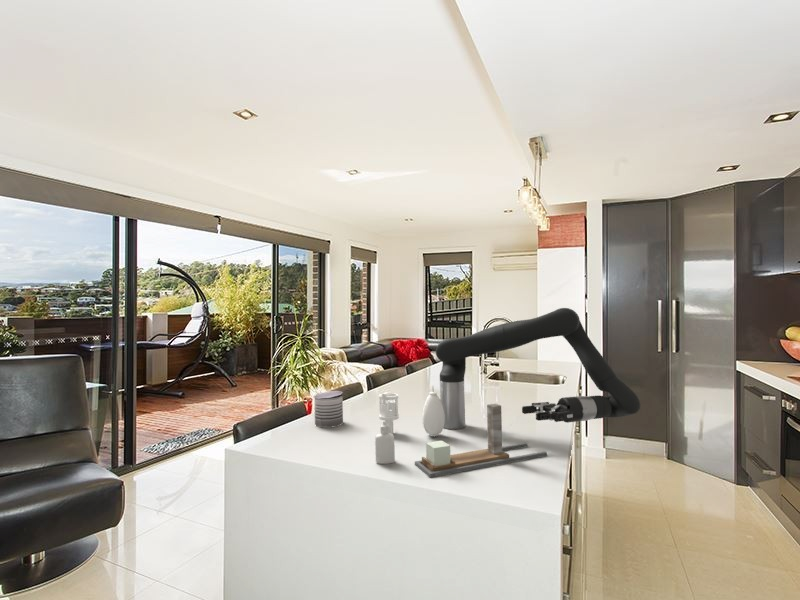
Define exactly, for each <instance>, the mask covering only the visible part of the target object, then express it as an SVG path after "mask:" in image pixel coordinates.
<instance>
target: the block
mask: <svg viewBox="0 0 800 600" xmlns="http://www.w3.org/2000/svg"><path fill="white" fill-rule="evenodd" d="M425 448H426V449H425V453H426V457H425V458H426V459H427V460H429V461H430V462H431V463H433V464H434V465H435V466H440V465H446V464H450V455H451V445H450V444H448V443H446V442H445V441H444V440H436V441H432V442H426V443H425Z"/></svg>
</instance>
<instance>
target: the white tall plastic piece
mask: <svg viewBox="0 0 800 600" xmlns="http://www.w3.org/2000/svg"><path fill="white" fill-rule="evenodd" d="M378 399H379V415H378V416H379V417H378V418H379V420H381V421H386V425H388V426H389V433H391V434H393V435H394V432H395V431H394V421H397V420H399V419H400V416H399V415H400V414H399V401H398V400H399V394H398V393H395V392H387V391H385V392H384V393H380V394H378Z"/></svg>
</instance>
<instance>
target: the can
mask: <svg viewBox="0 0 800 600" xmlns="http://www.w3.org/2000/svg"><path fill="white" fill-rule="evenodd" d="M343 394H344V391H341V390H331V391H324V392H319V393H316V394H315V395H313V398H314V399H313V403H314V404H313V405H314V409H313V410H314V425H316V426H315V427H318V426H321V427H320V428H333V427H332V426H335V427H338V425H339V426H340V424H341V425H342V423H343V424H344V408H343V407H344V406H343V399H344V398H343Z"/></svg>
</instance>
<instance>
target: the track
mask: <svg viewBox="0 0 800 600" xmlns="http://www.w3.org/2000/svg"><path fill="white" fill-rule="evenodd" d="M528 446H529V445H528V443H527V442H522V443H516V444H511V445H510V444H508V445H504V446H503V445H502V451H503V452H505V450H506V451H510V450H511V449H512V450H516V449H522V448H527V447H528ZM547 456H548V452H547V451H539V452H533V453H529V454H522V455H516V456H512V457H509V458H505V459H500V460H494V461H489V462H483V463H478V464H472V465H467V466H461V467H456V468H450V469H445V470H440V471H434V472H431V471H430V470H429V469H427V468H426V467H425V466H424V465H422V459H421V460H417V461H414V466H415V467H417V468H418V469H419V470H420V471H422V473H424V474H425V475H426V476H427V477H428V478H437V477H441V476H447V475H451V474H455V473H456V474H457V473H461V472H466V471H467V472H468V471H473V470H477V469H483V468H489V467H493V466H499V465H504V464H509V463H510V464H511V463H514V462H520V461H526V460H531V459H537V458H541V457H547Z"/></svg>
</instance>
